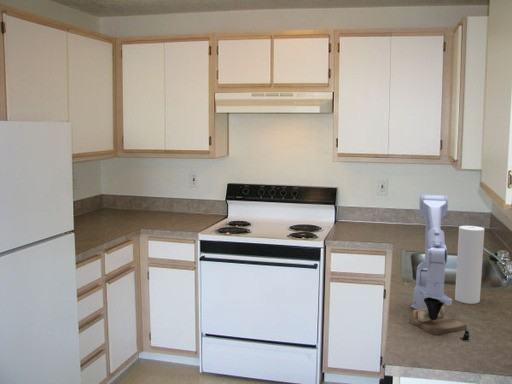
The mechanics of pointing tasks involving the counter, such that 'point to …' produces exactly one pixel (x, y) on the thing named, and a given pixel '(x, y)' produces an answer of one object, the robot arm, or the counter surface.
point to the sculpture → (466, 336)
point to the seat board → (439, 325)
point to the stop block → (415, 313)
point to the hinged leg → (424, 315)
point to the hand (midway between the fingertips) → (433, 319)
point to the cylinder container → (469, 264)
